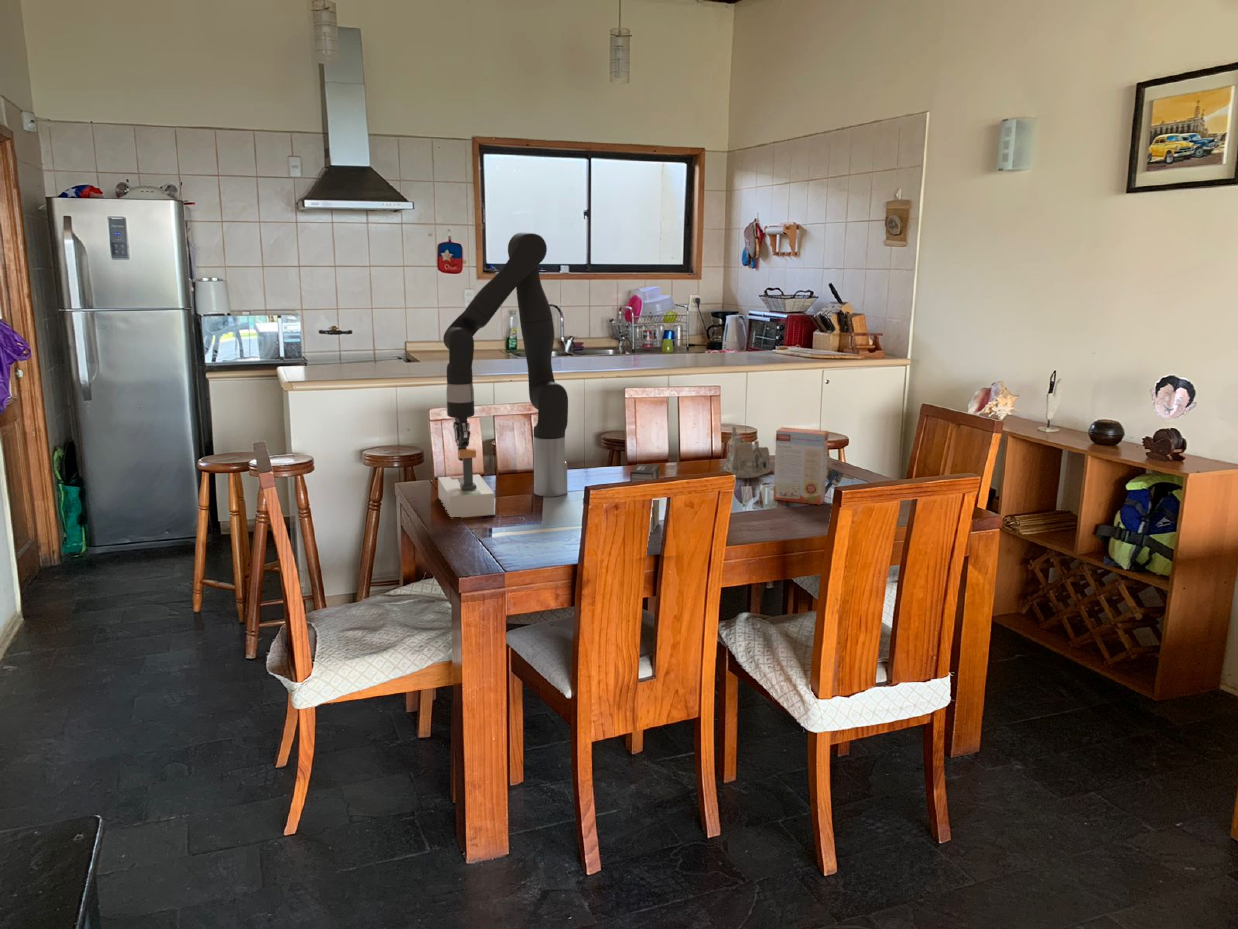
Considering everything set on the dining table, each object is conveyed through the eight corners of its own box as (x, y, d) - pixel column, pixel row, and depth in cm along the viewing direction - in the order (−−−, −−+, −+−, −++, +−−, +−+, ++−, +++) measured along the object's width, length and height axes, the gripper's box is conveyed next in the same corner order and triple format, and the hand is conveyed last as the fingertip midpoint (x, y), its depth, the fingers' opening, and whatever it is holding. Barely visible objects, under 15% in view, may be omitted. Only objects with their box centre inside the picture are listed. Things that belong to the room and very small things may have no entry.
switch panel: (479, 494, 273) (479, 473, 271) (494, 514, 253) (494, 492, 251) (438, 497, 269) (437, 476, 268) (450, 518, 249) (449, 496, 247)
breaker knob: (475, 486, 257) (474, 448, 254) (477, 488, 254) (476, 450, 252) (459, 487, 255) (458, 449, 253) (461, 490, 253) (459, 451, 250)
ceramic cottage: (726, 477, 294) (731, 431, 291) (720, 467, 310) (724, 423, 307) (775, 481, 294) (780, 434, 292) (766, 470, 311) (771, 426, 308)
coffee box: (635, 521, 248) (636, 463, 244) (659, 523, 246) (660, 464, 243) (629, 531, 239) (629, 471, 235) (653, 533, 238) (654, 472, 234)
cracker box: (825, 500, 269) (829, 430, 264) (820, 506, 264) (824, 434, 259) (778, 495, 275) (781, 425, 270) (772, 500, 269) (775, 429, 264)
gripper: (478, 402, 252) (480, 464, 256) (469, 394, 264) (471, 454, 269) (451, 403, 250) (453, 466, 254) (442, 396, 262) (445, 455, 266)
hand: (462, 459), depth 261 cm, fingers closed
